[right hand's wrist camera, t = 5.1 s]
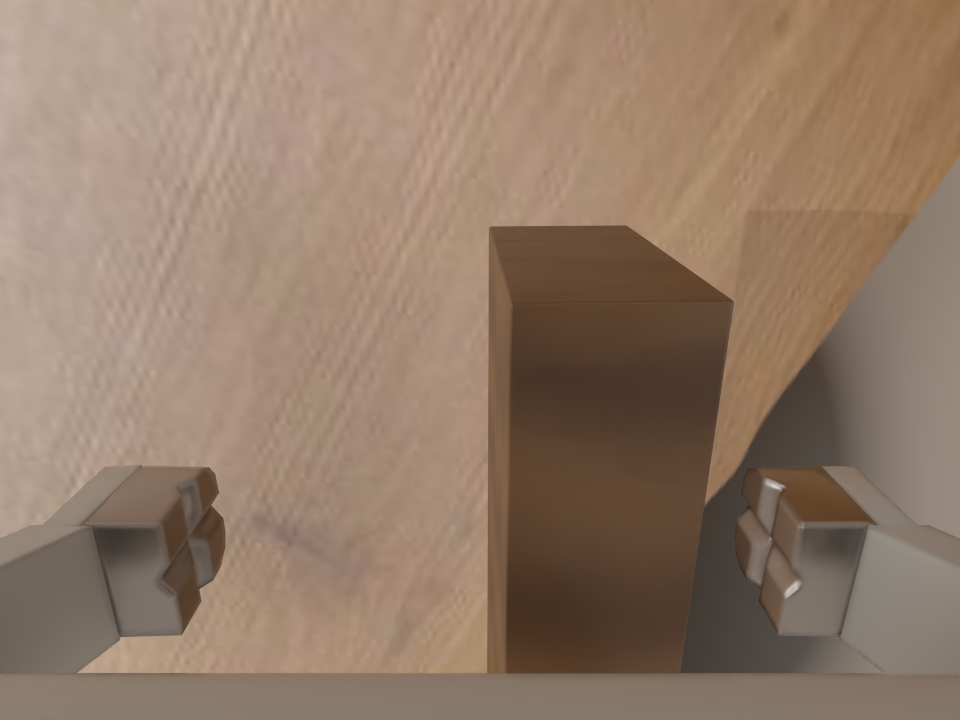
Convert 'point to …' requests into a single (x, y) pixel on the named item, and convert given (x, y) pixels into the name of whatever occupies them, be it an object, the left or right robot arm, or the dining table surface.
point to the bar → (596, 447)
